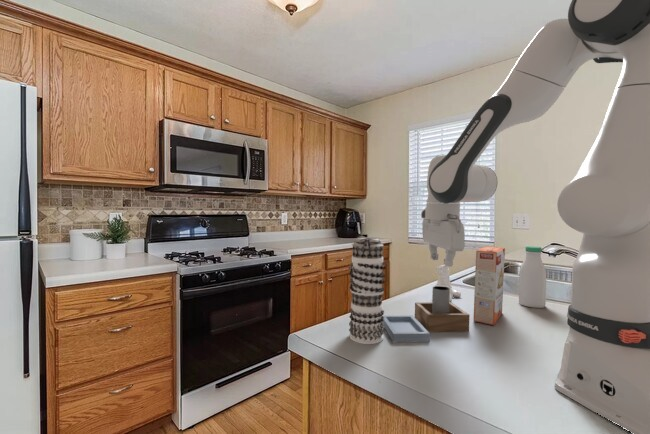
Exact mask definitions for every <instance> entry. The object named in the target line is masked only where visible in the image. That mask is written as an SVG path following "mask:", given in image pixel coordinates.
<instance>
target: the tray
mask: <svg viewBox="0 0 650 434" xmlns="http://www.w3.org/2000/svg"><path fill="white" fill-rule="evenodd" d="M382 316H383V317H384V319H383V321H382V323H383V324H384V326H383V327H384V328H383V329H385V331H386V332H387V334H388V336H389V338H390V339H391V340H392V342H394V343H397V342H399V343H401V342H402V343H404V342H405V343H407V342H408V343H409V342H411V343H414V342H416V343H417V342H419V343H420V342H430V341H431V332H428V331H427V330H426V329H425V328H424V327H423V326H422V324H421V323H420V322H419V321H418V320H417V319H416V318H415V315H413V314H411V315H406V314H405V315H382Z"/></svg>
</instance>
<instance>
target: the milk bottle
mask: <svg viewBox="0 0 650 434" xmlns="http://www.w3.org/2000/svg"><path fill="white" fill-rule="evenodd" d="M524 248H525V253H526V254H525V257H524V260H523V262H522V263H521V265H520V268H519V279H518V280H519V281H518V303H519V304H520V305H521V306H525V307H528V308H534V309H535V308H536V309H541V308H542V309H543V308H545V307H546V303H547V302H546V301H547V298H546V297H547V271H546V266H545V265H544V263H543V260H542V256H541V254H542V251H543V249H542V247H540V246H537V245H536V246H534V245H532V246H531V245H528V246H527V245H526V246H525V247H524Z"/></svg>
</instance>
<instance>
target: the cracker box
mask: <svg viewBox="0 0 650 434" xmlns="http://www.w3.org/2000/svg"><path fill="white" fill-rule="evenodd" d="M505 254H506V248H505V247H499V246H483V247H482V248H479V249H477V250H475V269H474V273H475V275H474V295H473V296H474V300H473V322H477V323H482V324H486V325H490V326H495V325H496V323H497V322H498V320H499V318H501V315H502V314H503V302H504V301H503V300H504V278H505V275H504V274H505V256H506V255H505Z"/></svg>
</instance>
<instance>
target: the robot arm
mask: <svg viewBox="0 0 650 434" xmlns="http://www.w3.org/2000/svg"><path fill="white" fill-rule="evenodd" d="M590 60H593V61H594V62H595V63H596V64H608V63H609V64H610V63H622V69H621V72H620V76H619V77H618V81H617V83H616V86H615V89H614V91H613V93H612V97H611V98H610V102H609V105H608V108H607V110H606V113H605V117H604V119H603V122H602V125H601V127H600V129H599V132H598V135H597V136H596V138H595V139H594V142H593V144H592V146H591V147H590V150H589V151H588V153H587V154H586V156H585V157H584V159H583V160H582V162H581V164H580V166H579V168H578V169H577V171H576V173H575V175H574V177H573V178H572V179H571V181H569V182H568V183H567V184H566V186H564V187H563V189H562V190H561V191H560V193H559V196H558V199H557V212H558V214H559V217H560V218H561V220H562V222H564V223H565V224H566V225H567V226H568V227H570V228H571V229H573V230H575V231H577V232H579V233H581V234H582V237H581V238H582V239H581V243H580V247H579V249H578V253H577V255H576V258H575V259H574V261H573V264H572V267H571V268H572V271H571V273H572V274H571V295H570V296H571V299H570V305H568V309H567V312H566V317H567V325H568V326H569V331H568V334H567V337H566V340H565V343H564V347H563V352H562V358H561V363H560V364H561V365H560V368H559V371H558V374H557V379H556V380H555V383H554V389H555V390H556V391H558V392H559V393H562V394H563V395H565V396H566V397H568V398H569V399H572V400H573V401H575V402H576V403H578V404H580V405H581V406H583V407H585V408H587V409H588V410H590V411H592V412H594V413H595V412H596V413H595V414H597V413H598V414H597V415H599V416H600V415H601V416H600V417H602V416H603V417H602V418H604V417H605V418H607V419H609V420H611V421H613V422H615V423H617V424H619V425H620V426H622V427H624V428H626V429H627V430H629V431H630V432H632V433H634V434H650V0H571V1H570V5H569V6H568V11H567V18H558V19H553V20H551V21H549V22H547V23H546V24H545V25H543V26H542V27H541V29H540V30H538V32H537V33H536V35H534V37H533V38H532V40H531V41H530V42H529V44H528V45H527V46H526V47H525V49H524V50H523V51H522V54H521V55H520V57H519V58H518V59H517V60H516V62H515V65H514V66H513V68H512V69H511V71H510V72H509V74H508V75H507V77H506V79H505V80H504V82H503V83H502V84H501V86H500V87H499V88H498V90H497V91H495V93H494V94H493V95H492V96H491V97H490V98H488V99H487V100H486V101H485V102H484V103H483V104H482V105H481V107H480V108H479V109H478V111H476V112H475V114H474V115H473V117H472V118H471V120H470V121H469V123H468V124H467V125H466V127H465V129H464V130H463V131H462V132H461V134H460V135H459V136H458V138H457V139H456V141H455V143H454V144H453V146H452V147H451V148H450V150H449V151H448V152H447V153H446V154H444V153H443V154H440V155H436V156H435V157H433V158H432V159H431V160H430V161H429V166H428V170H427V179H426V189H427V192H428V194H427V199H426V204H425V205H426V207H425V208H424V209H423V210H422V211H421V213H420V214H421V215H420V217H421V219H422V229H421V230H422V231H421V232H422V233H421V234H422V240H423V242H424V243H426V244H428V248H429V253H430V259H431V260H433V261H438V260H439V253H438V248H441V249H443V250H445V258H444V259H443V265H445V266H447V267H448V268H449V267H453V265H454V258H455V257H456V253H457V252H463V251H464V249H465V247H466V243H465V239H466V237H465V227H464V223H463V222H462V220H461V219H460V217H461V216H460V210H461V203H480V202H484V201H487V200H489V199H491V198H492V196H494V194H495V193H496V191H497V188H498V177H497V174H496V172H495V170H493V169H492V168H491V167H488V166H486V165H484V164H480V163H476V162H477V161H478V160H479V158H481V156H482V154H483V153H484V152H485V150H487V147H488V146H489V145H490V144H491V142H492V141H493V140H494V139H495V138H496V137H497V136H498V135H499V134H500V133H501V132H503V131H506V130H507V129H509V128H511V127H514V126H517V125H520V124H524V123H528V122H531V121H534V120H537V119H539V118H541V117H543V115H545V114H546V112H548V111H549V110H550V109H551V108H552V107H553V105H554V104H555V103H556V102H557V100H558V99H559V97H560V96H561V94H562V93H563V92H564V90H565V88H567V86H568V84H569V83H570V82H571V80H572V78H573V76H574V75H575V74H576V73H577V71H578V70H579V69H580V68H581V66H583V65H584V64H585V63H587V62H588V61H590ZM605 418H604V419H605ZM607 419H606V420H607ZM609 420H608V421H609Z"/></svg>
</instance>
